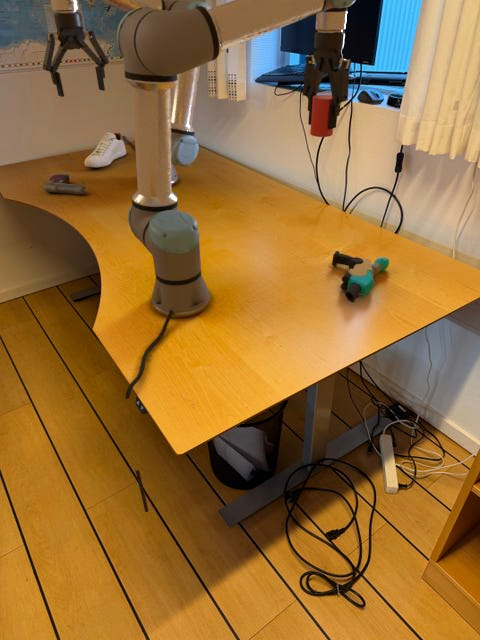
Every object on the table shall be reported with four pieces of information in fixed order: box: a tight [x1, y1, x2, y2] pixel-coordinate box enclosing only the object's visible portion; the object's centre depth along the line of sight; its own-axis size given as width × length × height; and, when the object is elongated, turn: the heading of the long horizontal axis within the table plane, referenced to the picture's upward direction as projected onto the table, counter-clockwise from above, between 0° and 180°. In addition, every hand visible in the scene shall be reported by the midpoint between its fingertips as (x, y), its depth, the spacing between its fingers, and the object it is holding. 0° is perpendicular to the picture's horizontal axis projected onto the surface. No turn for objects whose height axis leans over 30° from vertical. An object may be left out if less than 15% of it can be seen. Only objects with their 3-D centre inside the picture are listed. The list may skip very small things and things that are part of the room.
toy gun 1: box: [42, 173, 87, 195], centre depth 192 cm, size 4×19×15 cm
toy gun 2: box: [331, 250, 390, 303], centre depth 132 cm, size 4×26×15 cm
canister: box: [309, 94, 334, 138], centre depth 133 cm, size 6×6×10 cm
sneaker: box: [83, 131, 127, 169], centre depth 218 cm, size 10×29×12 cm, turn 163°
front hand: (321, 125), depth 135 cm, fingers closed on canister, 6 cm apart
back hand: (82, 93), depth 148 cm, fingers open, 13 cm apart
